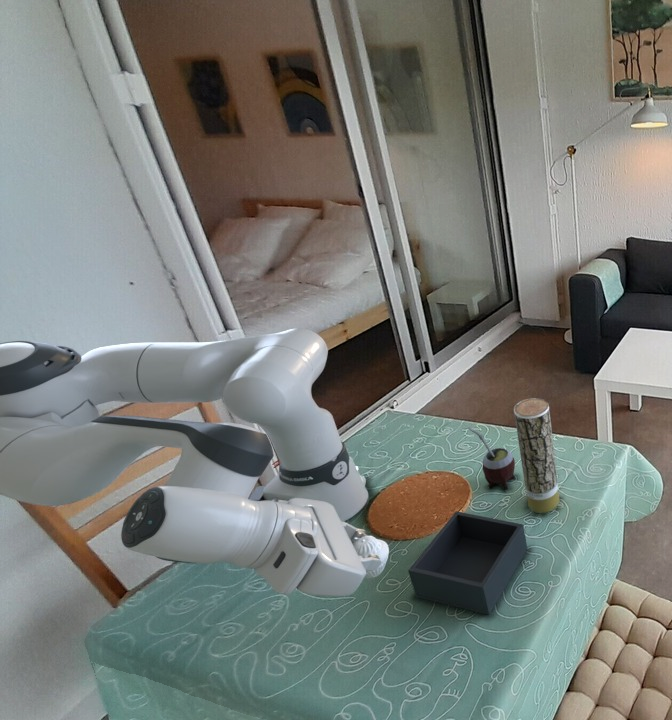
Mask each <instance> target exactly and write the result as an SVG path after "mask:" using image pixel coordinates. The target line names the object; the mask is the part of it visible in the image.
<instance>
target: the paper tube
mask: <svg viewBox="0 0 672 720" xmlns="http://www.w3.org/2000/svg"><path fill="white" fill-rule="evenodd" d="M550 412H551V411H550V405H549V403H548V400H547V401H546V400H545V399H542V398H539V397H532V398H531V397H530V398H527V399H523V400H521V401H519V402H518V403H516V404H515V405H514V407H513V414H514V421H515V428H516V433H517V441H518V447H519V454H520V462H521V467H522V474H523V481H524V488H525V494H526V500H527V506H528V508H529V510H531V511H532V512H533V513H535V514H547V513H550V512H552V511H553V510H555V509H556V508H557V507H558V505H559V503H560V494H559V493H560V492H559V484H558V476H557V466H556V465H557V464H556V458H555V456H556V455H555V448H554V439H553V431H552V421H551V413H550Z"/></svg>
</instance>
